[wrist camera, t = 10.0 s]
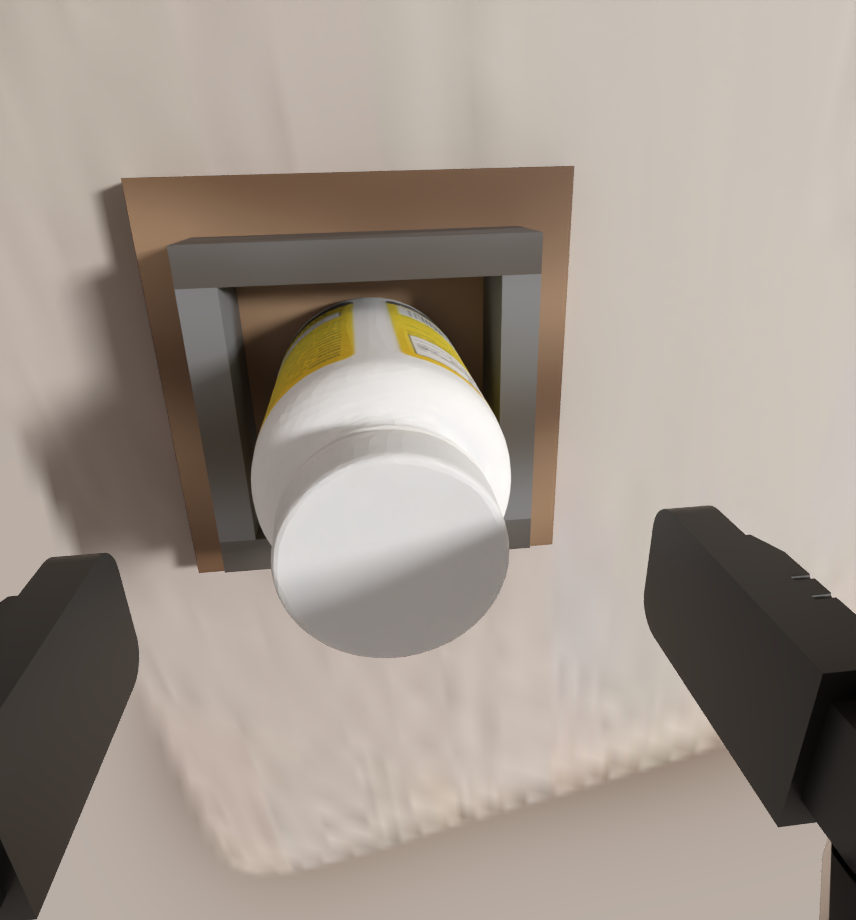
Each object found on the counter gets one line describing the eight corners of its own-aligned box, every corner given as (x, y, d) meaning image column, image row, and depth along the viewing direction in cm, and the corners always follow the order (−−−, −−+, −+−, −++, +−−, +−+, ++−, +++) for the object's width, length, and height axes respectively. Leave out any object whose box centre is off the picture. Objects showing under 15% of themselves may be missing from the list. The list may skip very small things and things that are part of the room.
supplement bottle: (284, 467, 20) (232, 697, 11) (276, 291, 18) (204, 405, 9) (455, 467, 21) (532, 684, 12) (466, 296, 19) (573, 408, 10)
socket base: (132, 178, 17) (84, 177, 14) (563, 166, 19) (607, 163, 15) (205, 556, 22) (180, 619, 19) (544, 529, 23) (574, 585, 20)
